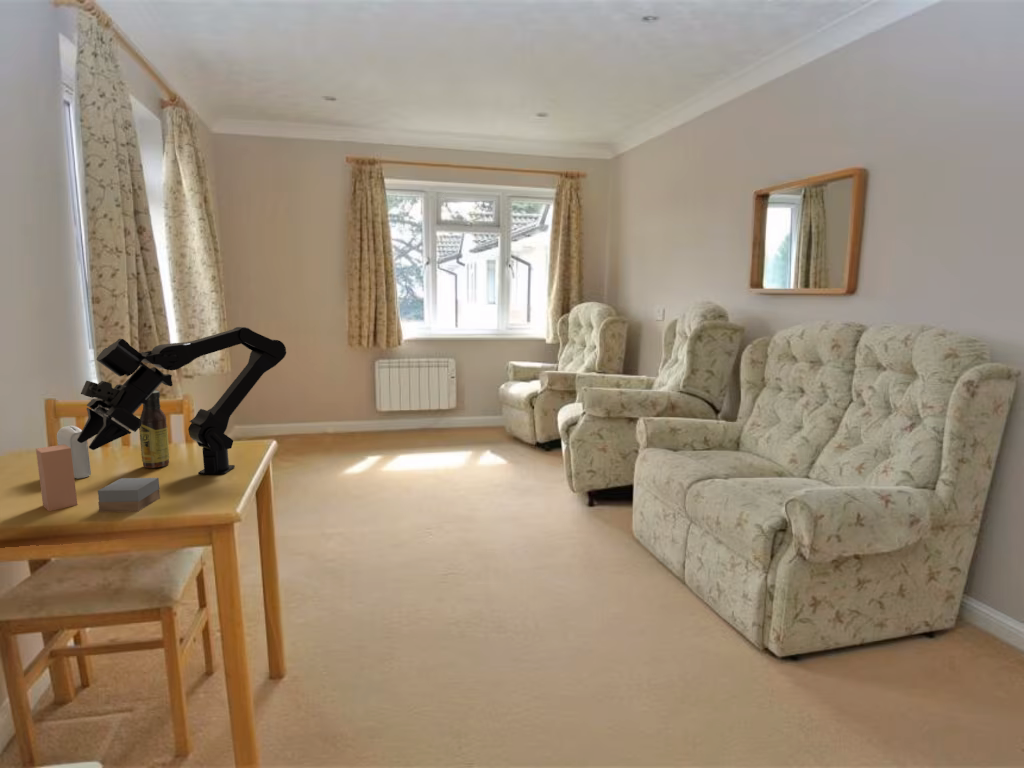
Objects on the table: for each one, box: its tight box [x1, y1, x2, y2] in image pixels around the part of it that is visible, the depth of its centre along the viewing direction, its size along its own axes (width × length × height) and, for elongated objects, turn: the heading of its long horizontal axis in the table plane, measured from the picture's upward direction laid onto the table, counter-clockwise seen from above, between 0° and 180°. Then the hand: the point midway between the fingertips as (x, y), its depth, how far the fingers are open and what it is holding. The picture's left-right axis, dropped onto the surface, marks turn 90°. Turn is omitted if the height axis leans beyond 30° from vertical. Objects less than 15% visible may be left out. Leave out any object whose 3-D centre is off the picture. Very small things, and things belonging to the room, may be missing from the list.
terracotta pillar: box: [35, 444, 78, 512], centre depth 126 cm, size 5×5×12 cm
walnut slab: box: [98, 489, 161, 513], centre depth 127 cm, size 8×8×2 cm
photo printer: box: [56, 425, 92, 479], centre depth 148 cm, size 10×4×12 cm, turn 53°
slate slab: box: [97, 477, 160, 502], centre depth 127 cm, size 8×8×2 cm
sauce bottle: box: [138, 390, 170, 469], centre depth 154 cm, size 7×6×20 cm
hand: (84, 445), depth 129 cm, fingers open, 9 cm apart
